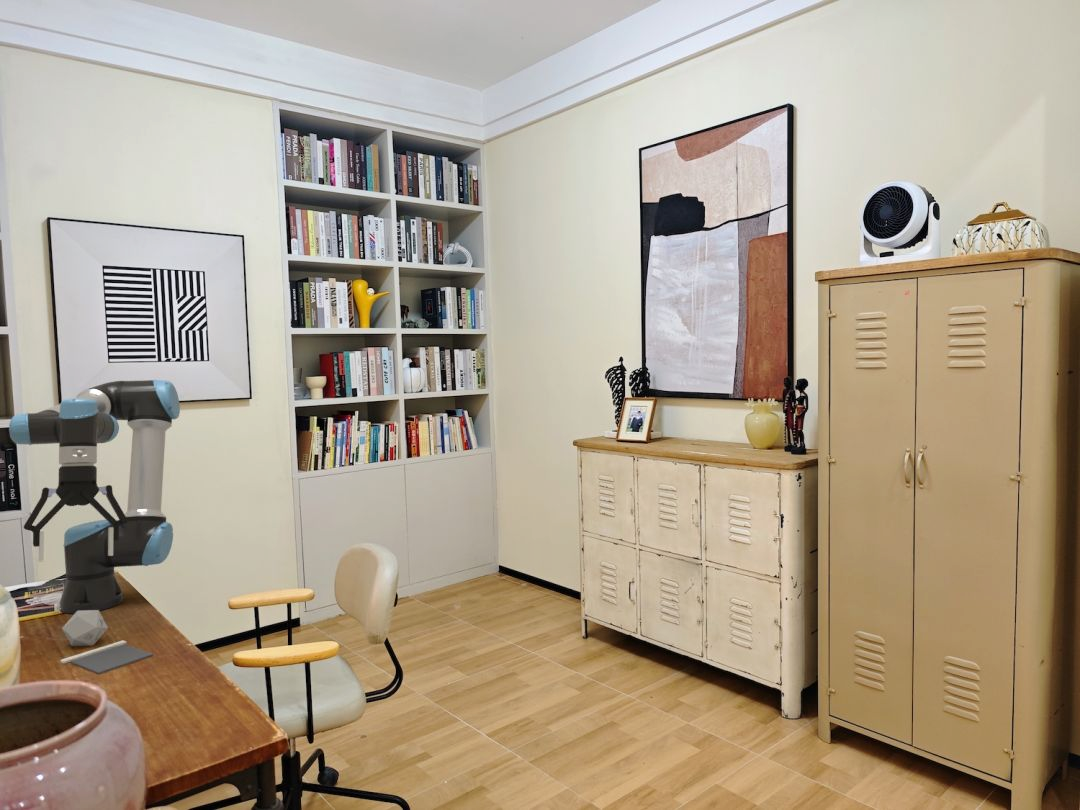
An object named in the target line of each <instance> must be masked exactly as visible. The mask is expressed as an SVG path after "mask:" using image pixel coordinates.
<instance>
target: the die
mask: <svg viewBox="0 0 1080 810" xmlns="http://www.w3.org/2000/svg"><path fill="white" fill-rule="evenodd" d="M108 628H109V626H108V625H107V623H106V621H105V619H104V617H103V616H102V613H101V611H100V610H83V611H77V612H76V613H73V615H72V616H71V617H70V618H69V619H68V620H67V622H66V623H65V624H64V625H63V626H62V627H61V630H62V631H63V633H64V635H65V636H66V639H67V641H68V642H69V644H70V645H71V647H85V646H88V647H89V646H90V647H91V646H95V645H96V643H97V642H98V640H99V639H100V638H101V637H102V636H103V635H104V633H105V632H106V631H107V630H108Z"/></svg>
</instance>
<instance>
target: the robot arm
mask: <svg viewBox="0 0 1080 810" xmlns="http://www.w3.org/2000/svg"><path fill="white" fill-rule="evenodd" d="M179 398H180V397H179V395H178V391H177V389H176V387H175V385H174V384H173V383H172V382H171V381H170V380H160V379H158V380H157V379H152V380H117V381H116V380H115V381H110V382H105V383H102V384H99V385H95V386H92V387H89V388H87V389H84V390H82V391H80V392H79V393H78V394H77V395H76V397H74V398H67V399H63V400H62V401H61V402H60V403H58V404H56V405H54V406H52V407H49V408H45V409H44V410H41V411H39V412H33V413H29V412H26V413H18V414H15V415H13V416H12V418H11V419H10V421H9V425H8V426H9V427H8V433H9V437H10V439H11V441H12V442H14V443H15V444H17V445H29V446H32V445H47V444H48V445H49V444H53V445H54V444H58V445H59V448H58V464H59V465H61V466H60V467H59V468H58V485H57V488H52V487H51V488H49V487H43V488H42V489H41V493H40V498H39V500H38V501H37V503H36V505H35V507H34V508H33V510H32V512H31V513H30V514H29V517H28V518H27V520H26V522H25V523H24V525H23V529H24V530H26V531H30V532H32V546H33V547H35V548H36V547H37V548H38V562H41V563H42V562H44V548H45V547H44V546H45V543H44V541H45V531H41V530H42V529H43V528H44V527H45V526H46V525H47V524H48V523H49V522H50V520H52V519H53V518H54V517H55V515H56V514H58V513H59V511H60V510H62V508H63V507H64V506H65V505H66V506H67V507H76V506H80V507H81V506H87V505H90V506H91V507H92V508H94V509H95V510H96V511H97V512H98V513H99V514H100V515H101V516H102V517H103V518H104V519H101V520H99V519H98V520H94V521H90V522H85V523H81V524H77V525H75V526H72V527H70V528H68V529H66V531H65V532H64V535H63V537H64V540H63V541H64V542H63V549H64V550H63V551H64V565H65V566H64V567H65V585H64V587H63V591H62V594H61V597H60V601H59V609H60V608H61V610H62V611H61V613H65V614H75V613H76V612H77V611H83V610H99V611H103V610H106V609H110V608H113V607H116V606H118V605H119V604H122V602H123V600H124V598H123V597H124V596H123V595H124V594H123V591H122V588H121V587H120V584H119V582H118V580H117V577H116V574H115V568H119V567H120V568H121V567H124V568H125V567H138V566H143V567H144V566H145V567H147V566H152V565H154V566H155V565H160V564H161V563H164V561H165V560H167V558H168V556H169V555H170V552H171V550H172V546H173V541H174V529H173V525H172V523H170V522H168V521H167V516H166V515H165V514H164V513H163V512H162V500H163V499H162V498H163V483H164V482H163V481H164V464H165V463H164V462H165V445H166V432H167V431H168V430H169V429H170V428H171V427H172V425H173V420H176V419H178V418H179V417H180V413H181V411H180V410H181V406H180V400H179ZM118 421H127V423H126V424H127V426H128V427H129V428H130V429H131V430H132V435H131V436H132V439H131V449H130V450H131V453H130V465H129V466H130V467H129V481H128V482H129V484H128V494H127V511H126V512H125V513H124V511H123V509H122V508H121V506H120V504H119V503H118V501H117V499H116V497H115V495H114V492H113V491H114V490H113V486H112V485H110V484H108V485H107V484H106V485H103V486H98V483H97V482H98V481H97V476H98V475H97V472H98V467H97V466H96V465H95V464H97V462H98V458H97V457H98V451H97V450H98V444H106V443H109V442H111V441H113V440H114V439H115V438H116V437H117V435H118V434H119V432H120V431H119V430H120V425H119V422H118ZM99 492H101V494H102V495H103V496H105V497H106V499H107V501H108V502H109V504H110V506H111V507H112V510H113V511H114V514H115V515H116V517H117V518H118V520H117V519H115V517H114V516H113V515H111V514H110V512H108V510H107V509H105V508H104V506H102V504H100V503H99V501H98V500H97V499H96V498H95V497H96V495H98V494H99ZM54 494H56V496H58V498H59V499H60V500H59V501H58V502H57V503H56V504H55V505H54V506H53V507H52V508H51V509H50V510H49V512H48V513H46V514H45V516H43V518H42V519H40V521H39V522H38V523H37V524H35V525H33V524H34V522H35V521H36V519H37V517H38V516H39V514H40V512H41V511H42V509H43V507H44V506H45V504H46V502H47V501H48V499H49V498H51V497H52V496H53V495H54Z"/></svg>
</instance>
